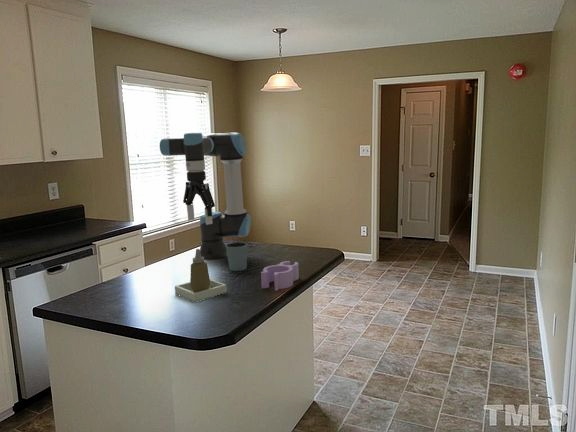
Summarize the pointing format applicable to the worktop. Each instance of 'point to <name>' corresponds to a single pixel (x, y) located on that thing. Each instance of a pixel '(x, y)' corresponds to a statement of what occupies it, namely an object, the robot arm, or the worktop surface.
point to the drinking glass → (237, 255)
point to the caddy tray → (188, 293)
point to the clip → (280, 275)
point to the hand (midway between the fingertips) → (200, 222)
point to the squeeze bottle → (199, 274)
